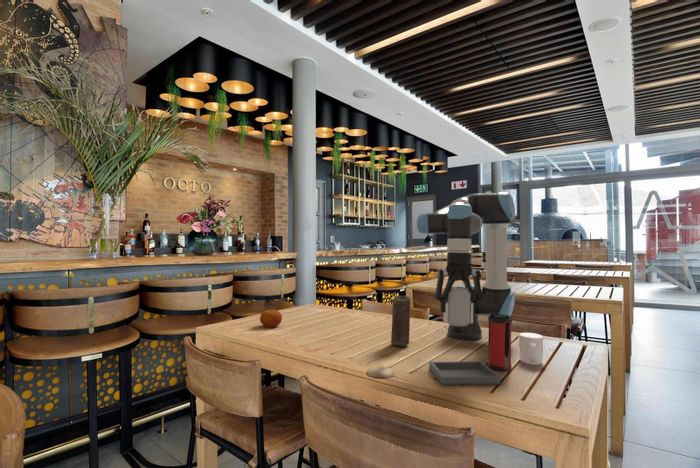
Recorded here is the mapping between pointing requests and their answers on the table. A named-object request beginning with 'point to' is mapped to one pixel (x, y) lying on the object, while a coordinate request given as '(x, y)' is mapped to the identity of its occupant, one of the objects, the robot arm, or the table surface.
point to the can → (458, 306)
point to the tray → (463, 373)
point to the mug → (531, 348)
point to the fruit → (271, 318)
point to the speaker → (499, 342)
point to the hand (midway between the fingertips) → (457, 322)
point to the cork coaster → (381, 372)
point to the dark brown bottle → (400, 321)
